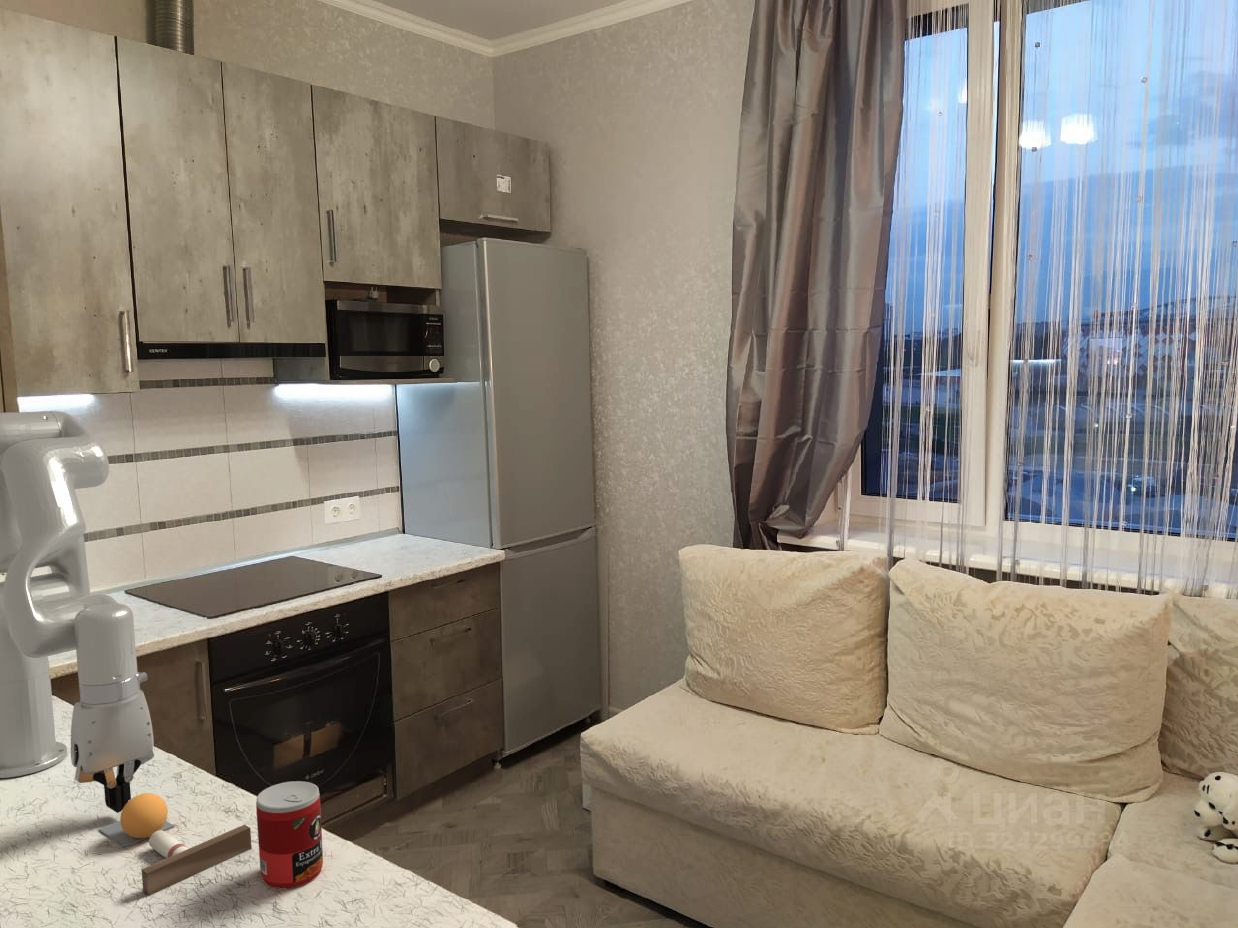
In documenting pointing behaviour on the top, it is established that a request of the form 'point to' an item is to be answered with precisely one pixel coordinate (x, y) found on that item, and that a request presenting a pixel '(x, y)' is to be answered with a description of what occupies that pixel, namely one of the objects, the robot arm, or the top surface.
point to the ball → (143, 815)
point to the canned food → (289, 834)
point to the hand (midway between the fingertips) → (118, 807)
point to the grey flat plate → (121, 837)
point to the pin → (166, 844)
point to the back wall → (195, 859)
